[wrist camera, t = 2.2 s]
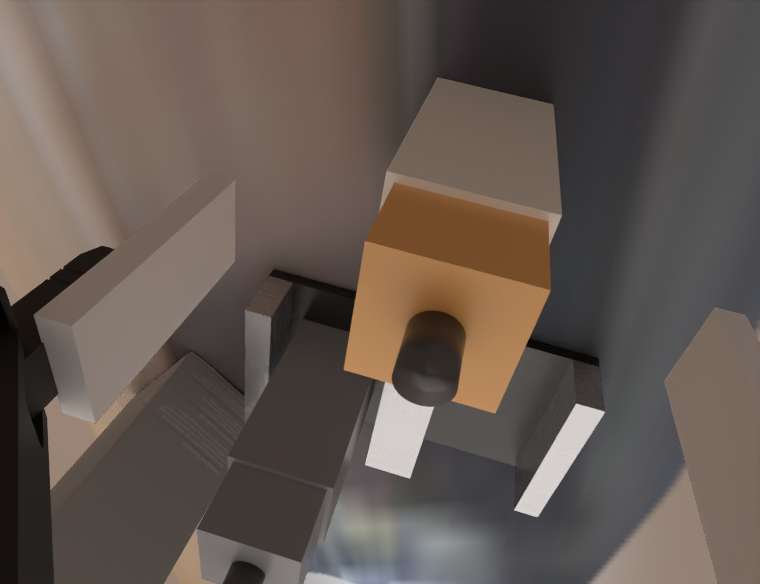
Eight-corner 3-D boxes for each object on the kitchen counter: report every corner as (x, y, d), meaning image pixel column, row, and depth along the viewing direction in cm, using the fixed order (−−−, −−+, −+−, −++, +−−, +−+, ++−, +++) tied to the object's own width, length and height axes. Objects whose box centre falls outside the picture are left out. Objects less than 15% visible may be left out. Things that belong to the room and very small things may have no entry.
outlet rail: (273, 269, 28) (245, 310, 26) (598, 358, 27) (605, 411, 24) (268, 385, 34) (244, 428, 31) (537, 464, 32) (537, 517, 30)
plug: (437, 77, 21) (333, 269, 10) (553, 104, 20) (571, 334, 10) (414, 182, 24) (313, 420, 13) (516, 208, 23) (498, 475, 13)
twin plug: (303, 319, 29) (166, 566, 18) (383, 341, 29) (292, 608, 18) (297, 376, 32) (176, 620, 21) (371, 397, 31) (285, 657, 21)
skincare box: (202, 448, 40) (49, 700, 27) (123, 387, 38) (-82, 631, 25) (271, 409, 35) (125, 691, 23) (186, 337, 33) (-27, 605, 21)
